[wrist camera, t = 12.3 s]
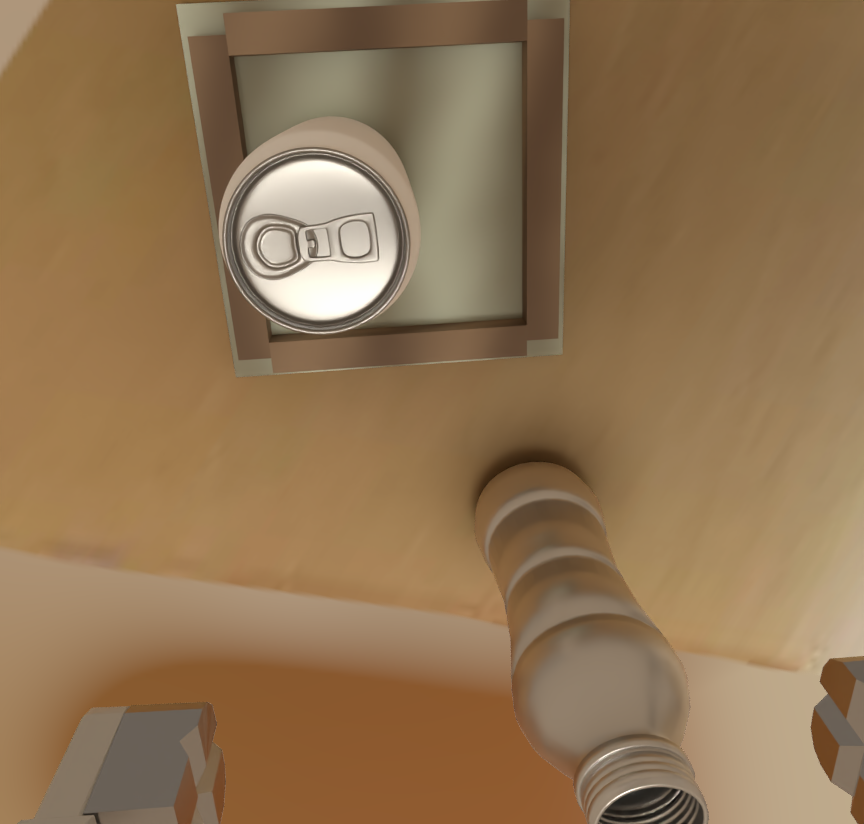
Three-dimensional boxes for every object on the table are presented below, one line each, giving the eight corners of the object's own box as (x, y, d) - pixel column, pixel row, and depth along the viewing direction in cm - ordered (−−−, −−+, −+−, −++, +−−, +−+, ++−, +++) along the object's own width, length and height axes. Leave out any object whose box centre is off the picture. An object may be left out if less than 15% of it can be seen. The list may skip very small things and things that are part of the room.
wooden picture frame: (566, -12, 32) (577, -18, 30) (559, 349, 38) (568, 362, 36) (180, 5, 31) (168, 1, 29) (238, 371, 38) (231, 386, 36)
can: (249, 122, 32) (185, 143, 21) (400, 107, 33) (413, 119, 22) (275, 272, 35) (230, 359, 24) (415, 257, 35) (434, 336, 24)
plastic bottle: (564, 561, 43) (704, 909, 25) (452, 534, 42) (512, 880, 24) (607, 464, 41) (796, 768, 23) (490, 433, 40) (590, 728, 22)
